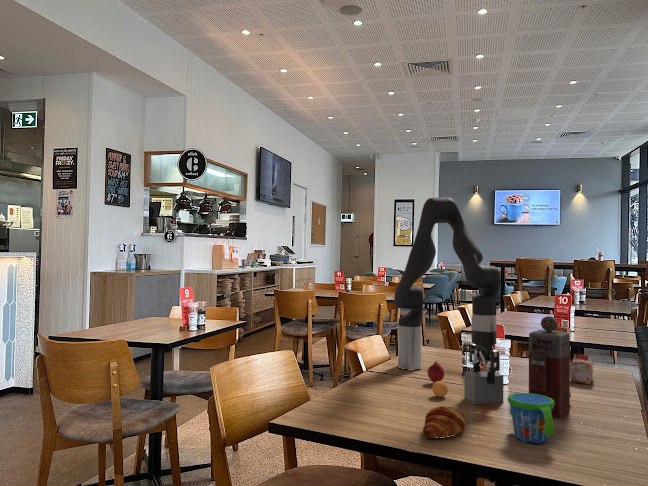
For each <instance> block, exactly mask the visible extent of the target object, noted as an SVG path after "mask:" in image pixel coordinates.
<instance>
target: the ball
mask: <svg viewBox="0 0 648 486" xmlns="http://www.w3.org/2000/svg"><path fill="white" fill-rule="evenodd" d="M431 391H432V393H433V394H434V396H436V397H437V396H438V398H444V397H445V396H447V394H448V392H449V388H448V385H447V384H446V383H445V382H444V381H442V380H441V381H437V382H435V383H434V382H433V384H432V386H431Z"/></svg>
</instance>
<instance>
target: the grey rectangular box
mask: <svg viewBox="0 0 648 486" xmlns="http://www.w3.org/2000/svg"><path fill="white" fill-rule="evenodd" d="M487 372H488V371H487V370H485V371H481V372H473V371H465V372H464V390H463V391H464V396H463V397H464V399H465V400H466V399H467V400H466V401H468V400H469V402H470V403H471V404H473V403H474V404H473V405H483V404H485V403H486V404H497V403H498V404H501V403H504V375H502V374H500V373H497V371H495V383H494V384H488V383H487Z"/></svg>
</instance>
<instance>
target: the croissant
mask: <svg viewBox="0 0 648 486" xmlns="http://www.w3.org/2000/svg"><path fill="white" fill-rule="evenodd" d="M465 416H466V415H465V413H464V411H461V410H459V409H457V408H454V407H452V406H445V405H439V406H435V407H432V408H430V409H429V411H427V413H426V415H425V417H424V426H423V428H422V431H423V433H424V435H425V437H426V438H429V437H431V438H430V439H435V438H434V437H439V438H440V437H447V436H451V435H456V434H457V435H459V434H461V433H462V432H464V431H465V429H466V425H467V424H466V417H465ZM460 432H461V433H460ZM458 433H459V434H458ZM457 435H456V436H457Z"/></svg>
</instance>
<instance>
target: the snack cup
mask: <svg viewBox="0 0 648 486" xmlns="http://www.w3.org/2000/svg"><path fill="white" fill-rule="evenodd" d="M507 402H508V403H509V414H510V415H511V420H512V426H513V433H514V437H515V436H516V437H515V438H516V439H518V440H519V439H520V440H519V441H523V442H524V441H526V442H525V443H528V442H531V443H530V444H539V443H540V444H543V443H546V442H547V441H548V439H549V437H550V436H552V435H554V434H555V425H554V421H553V417H552V414H551V413H552V409H553V407H554V405H555V402H554V401H553V399H551V398H549V397H547V396H543V395H538V394H531V393H529V392H517V393H511V394H509V395H508V396H507Z"/></svg>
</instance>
